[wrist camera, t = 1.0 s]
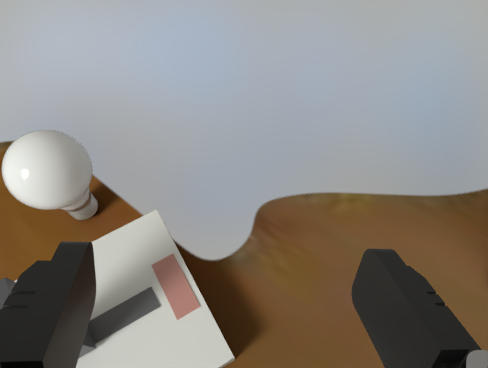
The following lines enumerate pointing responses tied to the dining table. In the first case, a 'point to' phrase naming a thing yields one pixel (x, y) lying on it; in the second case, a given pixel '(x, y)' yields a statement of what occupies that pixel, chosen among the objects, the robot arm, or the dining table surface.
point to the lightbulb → (50, 173)
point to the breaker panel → (149, 304)
